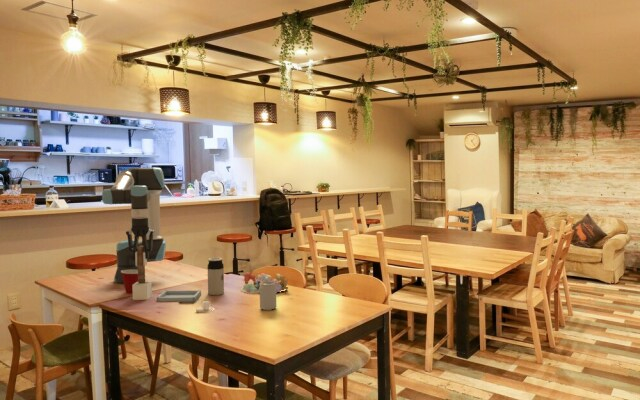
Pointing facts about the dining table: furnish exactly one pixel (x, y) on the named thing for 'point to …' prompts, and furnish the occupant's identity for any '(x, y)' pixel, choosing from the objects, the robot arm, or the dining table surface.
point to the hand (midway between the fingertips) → (141, 265)
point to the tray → (180, 296)
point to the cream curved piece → (204, 307)
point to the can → (267, 295)
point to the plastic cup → (129, 279)
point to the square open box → (142, 291)
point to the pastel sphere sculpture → (260, 279)
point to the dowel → (141, 265)
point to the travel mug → (215, 276)
